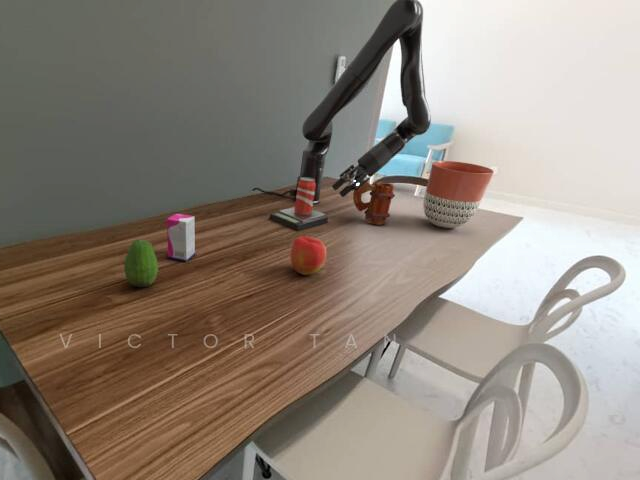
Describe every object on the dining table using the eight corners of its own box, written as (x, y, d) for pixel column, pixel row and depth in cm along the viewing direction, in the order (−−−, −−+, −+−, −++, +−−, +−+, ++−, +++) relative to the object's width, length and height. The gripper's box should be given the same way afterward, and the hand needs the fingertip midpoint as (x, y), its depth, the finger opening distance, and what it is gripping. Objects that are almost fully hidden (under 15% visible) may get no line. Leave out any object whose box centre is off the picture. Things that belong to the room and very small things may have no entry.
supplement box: (195, 254, 113) (195, 215, 107) (186, 262, 108) (185, 222, 102) (177, 250, 115) (176, 212, 109) (167, 258, 110) (165, 218, 104)
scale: (269, 218, 143) (269, 212, 142) (299, 211, 152) (299, 205, 151) (297, 230, 134) (298, 224, 133) (327, 222, 143) (328, 216, 142)
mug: (385, 220, 149) (395, 180, 142) (390, 227, 142) (401, 185, 135) (346, 216, 150) (354, 176, 142) (349, 224, 143) (358, 182, 135)
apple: (314, 284, 101) (320, 248, 96) (281, 273, 105) (285, 239, 100) (327, 271, 108) (334, 237, 103) (296, 261, 112) (300, 228, 107)
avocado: (161, 291, 94) (158, 244, 88) (126, 294, 92) (121, 247, 85) (157, 276, 100) (154, 231, 94) (125, 278, 98) (120, 233, 92)
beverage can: (314, 213, 143) (320, 179, 137) (304, 216, 139) (309, 182, 133) (301, 208, 146) (305, 176, 140) (290, 212, 142) (295, 178, 136)
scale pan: (278, 212, 143) (278, 210, 143) (300, 207, 150) (301, 205, 150) (303, 222, 136) (303, 220, 135) (325, 216, 143) (325, 214, 142)
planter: (470, 223, 152) (491, 166, 141) (472, 239, 136) (496, 176, 125) (416, 213, 158) (433, 158, 147) (413, 228, 143) (431, 167, 132)
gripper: (361, 147, 140) (325, 179, 144) (377, 155, 128) (337, 189, 132) (372, 163, 143) (336, 193, 148) (389, 172, 131) (349, 205, 136)
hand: (337, 191), depth 140 cm, fingers open, 8 cm apart
